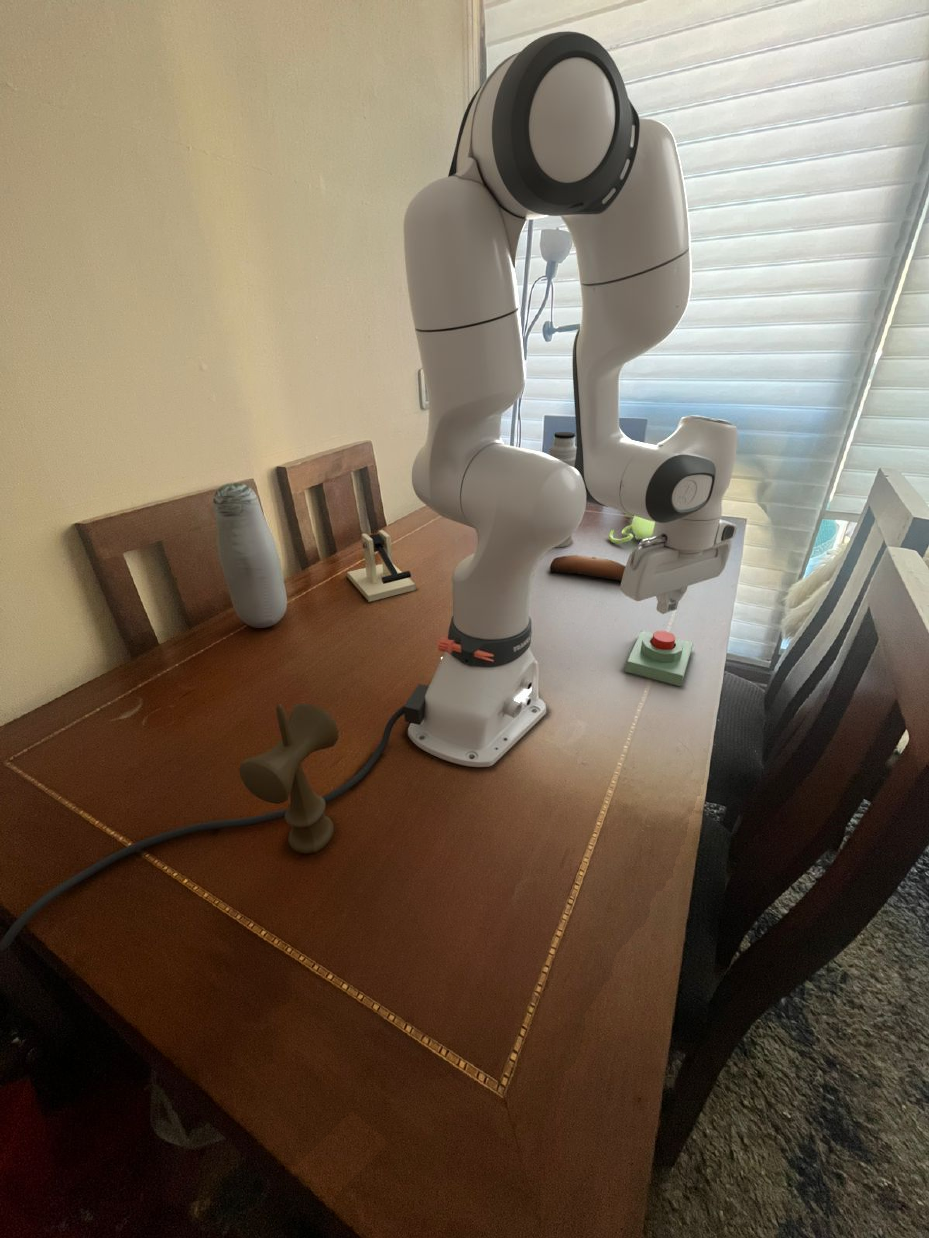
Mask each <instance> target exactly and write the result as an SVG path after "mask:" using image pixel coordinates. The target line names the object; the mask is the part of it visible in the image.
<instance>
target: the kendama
mask: <svg viewBox="0 0 929 1238" xmlns="http://www.w3.org/2000/svg"><path fill="white" fill-rule="evenodd" d="M275 710H276V711H275V712H276V718H277V724H278V728H279V732H280V738H281V740H280V741H278V743H277V744H275V746H273V747H272V748H271V749H270V750H267V751H266V752H264V753H261V754H259V755H255V756H252V757H249V758H246V759H244V760H243V761H242V762H241V763H240V766H239V768H238V771H239V777H240V779H241V781H242V782H243V785H244V786H245V787H246V789H247V790H248V791H249V792H250V793H251V794H252V795H253V796H254V797H256V798H258V799H259V800H261V801H264V802H266V803H270V804H273V805H275V804H276V805H279V804H284V803H286V802H287V800H288V798H289V805H288V806H287V808H286V809H287V810H286V812H285V817H284V818H283V819H284V820H285V823H286V824H287V825H288V826H289V827H291V829H290V831H289V833H288V838H287V839H288V840H287V843H288V845H289V846H290V847H291V849H292V850H293V851H295V852H297V853H299V854H305V855H308V854H314V853H317V852H318V851H321V849H323V848H324V847H326V846H327V845H328V843H329V842H330V841H331V840H332V837H333V835H334V833H335V832H334V831H335V823H334V822H333V821H332V819H331V818H330V817H329V816H328V815H325V812H326V805H327V803H326V802H325V801H324V799H323V796H321V795H319V794H318V793H315V792H314V791H313V789H312V787H311V784H310V783H309V780H308V778H307V776H306V773H305V771H304V768H303V766H302V764H303V762H304V761H305V760H306V759H307V758H309V756H311V754H312V753H314V752H317V751H322V750H326V749H329V748H330V749H331V748H333V747H334V746H335V745H336V743H337V742H338V740H339V729H338V726H337V723H336V721H335V720H334V719H333V717H332V716H331V715H330V713H328V712H327V711H325V710H324V709H323V708H321V707H320V706H316V705H315V704H311V703H304V702H303V703H302V702H301V703H299V704H296V705H294V706H293V707H292V709H291V711H290V714H289V717H288V718H287V715H286V712H285V709H284V707H283V706H282V704H279V703H278V704H277V705H276V707H275Z"/></svg>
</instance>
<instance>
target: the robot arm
mask: <svg viewBox="0 0 929 1238" xmlns="http://www.w3.org/2000/svg"><path fill="white" fill-rule="evenodd" d="M689 216H690V215H689V208H688V200H687V192H686V186H685V179H684V174H683V169H682V164H681V158H680V155H679V150H678V147H677V142H676V138H675V136H674V134H673V132H672V131H671V130H670V129H669V127H668V126H667V125H666V124H664V123H663V122H661V121H659V120H656V119H652V118H646V117H645V118H643V117H641V118H640V117H639V113H638V111H637V110H636V108H635V106H634V105H633V103H632V102H631V100H630V98H629V95H628V91H627V88H626V85H625V82H624V79H623V76H622V74H621V72H620V70H619V68H618V66H617V64H616V62H615V60H614V59H613V57H612V56H611V54H610V53H609V52H608V51H607V49H605V47H604V46H603V45H602V44H601V43H600V42H599V41H598V40H596V39H595V38H593V37H591V36H589V35H587V34H584V33H581V32H577V31H570V30H568V31H556V32H551V33H548V34H545V35H542V36H540V37H538V38H537V39H534V40H533V41H531V42H530V43H529V44H527V45H526V46H525V47H523V49H522V50H520V51H518V52H516V53H514V54H512V55H510V56H508V57H506V58H505V59H504V60H502V62H500V63H499V64H498V65H497V66H496V67H495V68H494V70H493V71H492V72H490V74H489V75H488V77H487V78H486V79H485V80H484V83H483V84H482V85H481V86H480V87H479V88H478V89H477V90H476V91H475V92H474V94H473V96H472V97H471V99H470V101H469V103H468V104H467V107H466V108H465V111H464V114H463V117H462V119H461V123H460V126H459V129H458V134H457V138H456V142H455V147H454V152H453V156H452V160H451V163H450V167H449V171H448V174H447V176H445V177H443V178H439V179H436V180H434V181H432V182H430V183H429V184H427V185H426V186H424V187H423V188H421V189H420V190H419V191H418V192H417V194H415V196H413V198H412V199H411V201H410V202H409V203H408V206H407V208H406V211H405V213H404V218H403V250H404V262H405V274H406V275H405V276H406V285H407V292H408V299H409V305H410V306H409V307H410V311H411V317H412V321H413V327H414V331H415V335H416V341H417V346H418V351H419V357H420V361H421V366H422V372H423V378H424V384H425V388H426V394H427V403H428V427H427V429H428V430H427V435H426V440H425V442H424V444H423V446H422V447H421V448H420V449H419V451H418V452H417V453H416V456H415V458H414V462H413V464H412V469H411V484H412V487H413V488H412V489H413V491H414V494H415V495H416V497H417V498H418V499H419V501H420V502H421V503H423V504H424V505H426V507H428V508H429V509H431V510H432V511H434V512H435V513H436V514H438V515H439V516H440V517H442V518H445V519H448V520H451V521H453V522H455V523H459V524H461V525H464V526H467V527H470V528H473V529H474V530H475V532H476V536H477V537H476V538H477V543H476V548H475V552H474V553H471V554H469V555H467V556H466V557H465V558H463V559H462V560H461V561H460V562H459V563H458V564H457V565H456V567H454V570H453V572H452V576H451V586H452V587H451V589H452V590H451V591H452V616H451V617H450V623H449V626H448V629H447V637H445V636H442V637H440V639H439V640H438V643H437V649H438V651H439V652H443V655H442V656H441V657H440V661H439V663H438V665H437V668H436V670H435V672H434V674H433V676H432V679H431V681H430V683H429V685H426V684H421V683H418V684H417V686H416V688H415V689H414V690H413V692H412V693H411V695H410V697H409V698H408V699H407V701H406V702H405V704H403V705H402V706H401V707H400V708H399V709H397V710H396V711H395V712H394V713H393V714H392V715H391V717H390V718H389V719H388V721H387V723H386V725H385V727H384V730H383V733H382V737H381V740H380V741H379V744H378V746H377V747H376V749H375V750H374V751H373V753H372V755H371V756H370V758H369V759H368V760H367V762H365V764H364V765H363V766H362V768H361V769H360V770H359V771H358V772H357V773H356V774H355V775H353V776H352V777H351V778H350V779H349V780H347V781H346V782H344V783H343V784H341V785H340V786H338V787H336V788H334V790H332V791H329V793H327V794H325V795H322V797H323V799H324V801H325V802H326V804H327V803H329V802H330V801H333V800H334V799H336V798H338V797H339V796H341V795H342V794H344V793H346V792H347V791H348V790H350V789H351V788H353V787H354V786H355V785H357V784H358V783H359V782H360V781H362V780H363V778H364V777H365V776H366V775H367V774H368V773H369V772H370V770H372V768H373V767H374V765H375V764H376V763H377V761H378V760H379V759H380V757H381V755H382V754H383V752H384V751H385V749H386V747H387V745H388V742H389V739H390V736H391V733H392V730H393V728H394V726H395V724H396V722H397V721H399V719H400V718H401V717H404V722H406V723H409V725H408V728H407V736H408V738H409V739H410V740H411V742H412V743H413V744H414V745H416V746H417V747H418V748H419V749H421V750H423V751H424V752H426V753H428V754H430V755H432V756H435V757H436V758H438V759H441V760H443V761H447V762H449V763H452V764H456V765H459V766H464V767H471V768H472V767H473V768H488V767H492V766H493V765H495V764H496V763H497V762H498V761H499V760H500V759H501V758H502V757H504V755H505V754H506V753H508V751H509V750H510V749H511V748H512V747H514V745H516V744H517V742H518V741H519V740H520V739H521V738H523V737H524V736H525V735H526V734H527V733H528V732H529V731H530V730H531V729H532V728H533V727H534V726H535V725H536V724H537V723H538V722H539V721H540V720H541V719H542V718H543V717H544V716H545V715H546V713H547V705H546V703H545V702H544V701H543V700H542V699H541V697H539V693H540V692H539V663H538V661H537V659H536V657H535V656H534V654H533V652H532V649H531V648H530V646H531V643H532V636H533V626H532V619H531V617H530V609H531V598H532V597H531V596H532V587H533V581H534V577H535V573H536V570H537V568H538V566H539V563H540V562H541V560H542V559H543V557H544V556H545V555H546V554H547V553H548V552H549V551H551V550H552V549H553V548H557V547H556V546H558V545H560V544H561V543H563V542H564V541H566V540H567V539H568V538H569V537H570V536H571V535H572V536H573V534H574V533H575V532H576V530H577V529H578V528H579V526H580V524H581V522H582V520H583V518H584V515H585V511H586V508H587V507H586V506H587V503H588V504H589V503H590V504H593V505H598V506H601V507H606V508H611V509H614V510H616V511H619V512H621V513H624V514H626V513H627V514H630V515H632V516H633V517H634V516H637V517H640V518H643V519H646V520H649V521H652V522H655V525H654V530H653V535H652V538H650V539H641V540H640V541H639V544H637V545H636V546H635V547H633V549H632V551H631V552H630V554H629V556H628V558H627V561H626V564H625V566H626V567H625V570H624V574H623V578H622V581H621V582H620V586H619V587H620V591H621V593H622V594H623V595H624V596H626V597H628V598H629V599H631V600H633V601H635V602H641V601H645V600H648V599H650V598H654V597H655V598H656V601H657V603H656V611H657V612H658V613H660V614H661V615H665V614H667V613H670V612H673V611H676V610H678V608H679V607H678V606H679V603H680V601H681V599H682V598H683V597H684V595H685V594H686V592H687V590H688V588H689V587H690V586H692V585H696V584H699V583H702V582H705V581H709V580H712V579H715V578H718V577H720V576H721V574H722V572H723V571H724V570H725V569H726V565H727V562H728V560H729V557H730V554H731V553H730V552H731V548H732V545H733V544H732V543H733V542H732V539H734V538H735V537H736V535H737V532H738V525H737V524H735V523H733V522H729V521H727V520H724V519H721V518H722V513H723V506H722V505H723V503H722V502H723V498H724V496H725V494H726V492H727V490H728V489H729V486H730V484H731V481H732V480H731V479H732V475H733V472H734V466H735V462H736V457H737V450H738V438H739V437H738V433H739V432H738V428H737V426H736V425H735V424H734V423H733V422H731V421H730V420H726V419H722V418H715V417H710V416H702V415H697V414H687V415H684V416H682V417H680V419H679V422H678V424H677V427H676V429H675V430H674V432H673V433H671V435H670V436H668V437H667V438H666V439H664V440H662V441H660V442H658V443H656V444H651V443H646V442H641V441H637V440H633V439H631V438H630V437H628V436H627V435H626V434H625V433H624V432H623V431H622V429H621V427H620V377H621V373H622V370H623V368H624V367H625V365H626V363H629V362H631V361H632V360H635V359H637V358H639V357H641V356H642V355H644V354H646V353H648V352H649V351H651V350H652V349H654V348H656V347H657V346H659V345H660V344H661V343H663V342H664V341H665V340H666V339H667V338H668V337H669V336H670V335H671V334H672V333H673V332H674V331H675V329H676V328H677V327H678V325H679V324H680V323H681V321H682V319H683V317H684V315H685V313H686V311H687V309H688V306H689V302H690V298H691V292H692V279H693V277H692V276H693V275H692V271H693V270H692V250H691V229H690V217H689ZM546 217H558V218H560V219H561V220H562V222H563V224H564V225H565V226H566V228H567V230H568V232H569V234H570V237H571V240H572V243H573V248H575V255H576V262H577V263H576V265H577V273H578V281H579V287H580V294H581V323H580V326H579V328H578V329H577V331H576V334H575V336H574V340H573V347H572V363H571V364H572V384H573V387H572V388H573V401H574V402H573V403H574V416H575V436H576V447H577V448H576V458H575V465H574V467H572V466H570V465H568V464H566V463H565V462H563V461H561V460H559V459H557V458H555V457H552V456H550V455H549V453H546V452H543V451H538V450H533V449H528V448H523V447H519V446H514V445H508V444H505V442H504V441H503V439H502V436H501V425H502V424H501V422H502V417H503V413H505V412H506V411H507V410H508V409H510V408H511V407H512V406H513V405H514V404H515V403H516V402H517V401H518V400H519V398H520V397H521V395H522V394H523V392H524V389H525V386H526V382H527V381H526V380H527V373H526V362H525V353H524V352H525V351H524V341H523V330H522V329H523V328H522V321H521V310H520V301H519V292H518V283H517V277H516V272H515V271H516V270H515V269H516V268H517V251H518V247H519V246H518V245H519V241H520V238H521V235H522V232H523V230H524V227H525V226H526V224H527V221H528V220H536V219H542V218H546ZM286 810H287V808H284V809H281V810H276V811H272V812H268V813H264V814H260V815H255V816H249V817H243V818H234V819H233V818H232V819H223V820H213V821H205V822H200V823H199V822H198V823H195V824H191V825H190V824H189V825H186V826H182V827H179V828H175V829H173V830H169V831H166V832H162V833H158V834H157V835H154V836H151V837H148V838H144V839H143V840H140V841H138V842H135V843H133V844H130V845H127V846H126V847H123V848H122V849H120V850H118V851H116V852H114V853H112V854H110V855H108V856H106V857H105V858H103V859H101V860H99V861H98V862H95V863H94V864H92V865H91V866H89V867H87V868H85V869H84V870H82V871H80V872H79V873H76V874H74V875H73V876H71V877H70V878H68V879H66V880H65V881H63V882H62V883H60V884H59V885H57V886H55V887H54V888H52V889H51V890H49V891H48V892H46V893H45V894H43V896H41V897H39V898H38V899H37V900H36V901H35V902H33V903H32V904H31V905H30V906H29V907H27V909H26V910H25V911H24V912H23V913H22V914H21V915H19V917H18V918H17V919H16V920H15V922H14V923H13V924H12V925H11V926H10V928H9V929H8V930H7V931H6V933H5V935H4V936H3V937H2V939H1V941H0V951H4V950H6V949H8V948H9V947H10V946H11V945H12V944H13V942H14V940H15V939H16V937H17V936H18V934H19V933H20V931H21V930H22V929H24V927H25V925H27V923H28V922H29V921H30V920H31V919H32V918H33V917H34V916H35V915H36V914H37V913H39V912H40V911H41V910H42V909H43V908H44V907H45V906H47V905H48V904H49V903H50V902H52V901H53V900H54V899H56V898H57V897H59V896H60V895H62V894H63V893H65V892H66V891H68V890H69V889H71V888H73V887H74V886H77V885H78V884H79V883H81V882H83V881H84V880H86V879H88V878H90V877H91V876H93V875H94V874H97V873H98V872H100V871H101V870H103V869H104V868H106V867H108V866H111V865H112V864H113V863H115V862H117V861H119V860H121V859H123V858H125V857H127V856H129V855H131V854H133V853H136V852H138V851H142V850H143V849H146V848H148V847H151V846H155V845H156V844H160V843H163V842H166V841H169V840H172V839H175V838H179V837H183V836H186V835H189V834H194V833H199V832H205V831H211V830H212V831H213V830H220V829H221V830H223V829H234V828H241V827H247V826H248V827H249V826H254V825H258V824H264V823H266V822H267V823H268V822H271V821H275V820H279V819H284V818H285V812H286Z"/></svg>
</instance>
